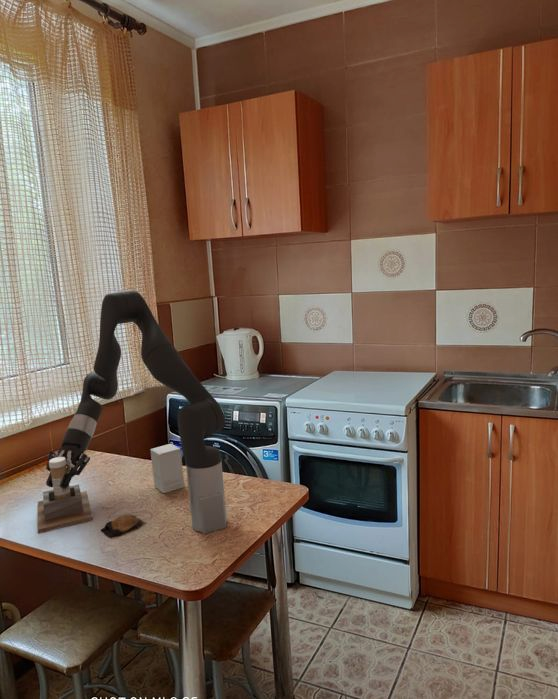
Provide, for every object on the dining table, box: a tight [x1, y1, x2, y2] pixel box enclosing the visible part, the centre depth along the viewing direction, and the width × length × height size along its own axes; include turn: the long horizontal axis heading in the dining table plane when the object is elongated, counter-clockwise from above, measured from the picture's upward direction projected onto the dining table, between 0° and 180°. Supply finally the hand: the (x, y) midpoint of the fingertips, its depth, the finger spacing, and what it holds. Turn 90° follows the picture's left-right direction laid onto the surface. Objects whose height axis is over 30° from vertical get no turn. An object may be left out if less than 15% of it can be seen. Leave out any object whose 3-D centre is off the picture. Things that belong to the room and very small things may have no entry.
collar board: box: [37, 484, 94, 534], centre depth 159 cm, size 20×14×6 cm
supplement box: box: [150, 443, 185, 494], centre depth 172 cm, size 7×7×13 cm
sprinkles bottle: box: [49, 457, 71, 500], centre depth 158 cm, size 5×5×13 cm
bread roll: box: [100, 513, 147, 539], centre depth 148 cm, size 11×8×4 cm
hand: (56, 486), depth 157 cm, fingers closed on sprinkles bottle, 4 cm apart
